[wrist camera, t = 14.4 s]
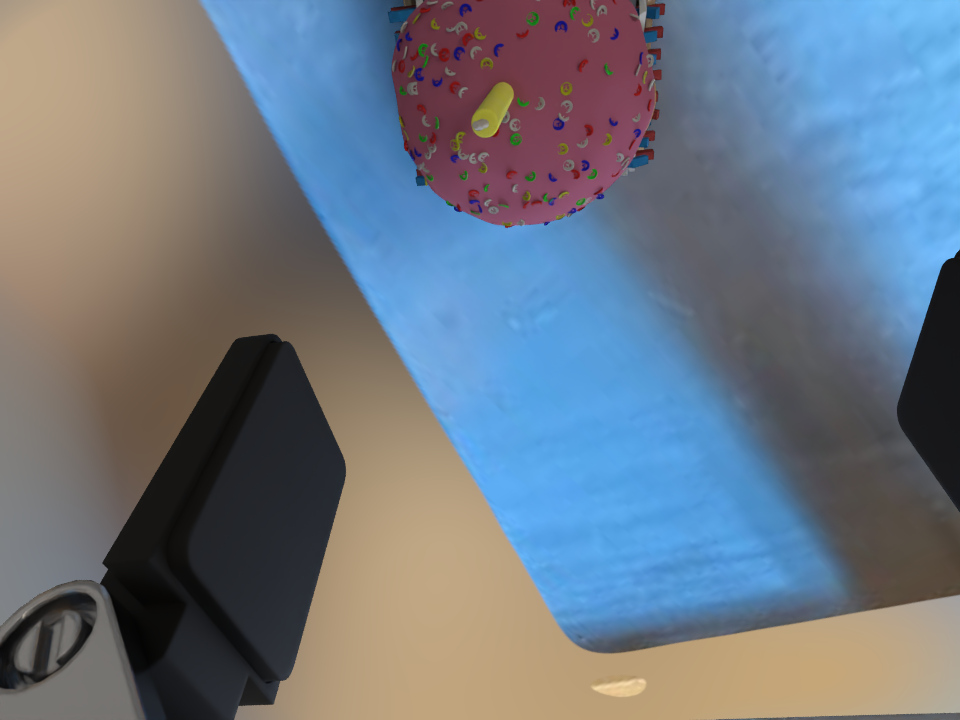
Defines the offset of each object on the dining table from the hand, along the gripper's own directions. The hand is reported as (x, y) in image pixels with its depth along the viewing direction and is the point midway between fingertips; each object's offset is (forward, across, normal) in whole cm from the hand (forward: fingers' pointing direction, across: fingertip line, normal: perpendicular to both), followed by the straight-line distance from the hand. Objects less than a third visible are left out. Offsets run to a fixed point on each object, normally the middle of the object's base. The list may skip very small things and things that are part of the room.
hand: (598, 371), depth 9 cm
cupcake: (+19, +1, 0) cm, 19 cm away
